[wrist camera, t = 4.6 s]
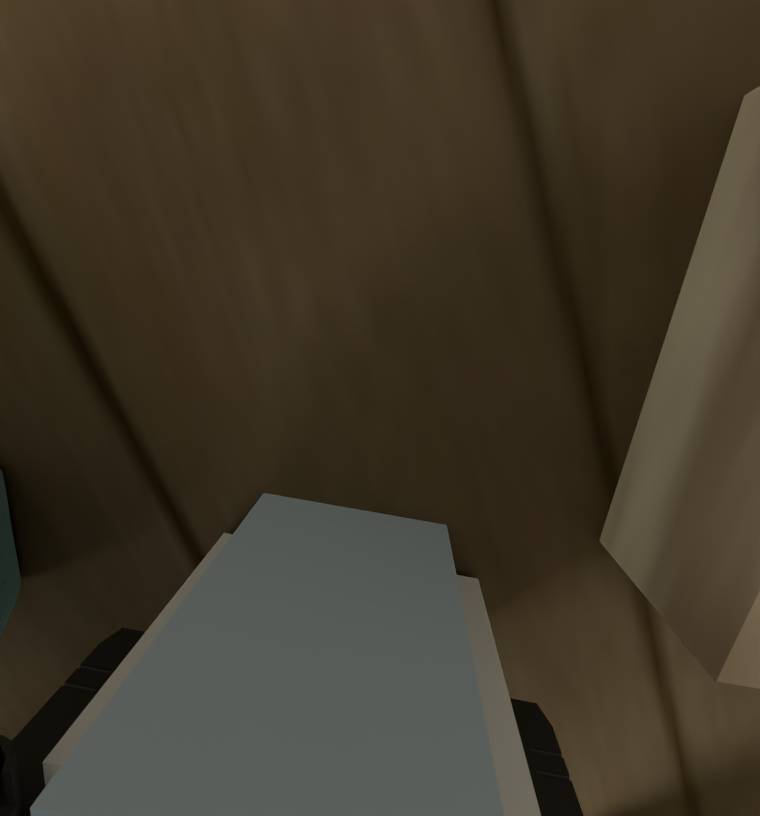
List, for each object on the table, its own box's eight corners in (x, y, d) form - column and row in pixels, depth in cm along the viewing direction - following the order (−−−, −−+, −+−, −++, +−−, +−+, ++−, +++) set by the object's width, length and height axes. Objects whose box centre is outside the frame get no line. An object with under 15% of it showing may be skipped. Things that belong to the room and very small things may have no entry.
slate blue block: (251, 638, 14) (63, 1051, 6) (263, 492, 12) (29, 808, 5) (412, 667, 14) (424, 1123, 6) (446, 524, 12) (520, 901, 4)
